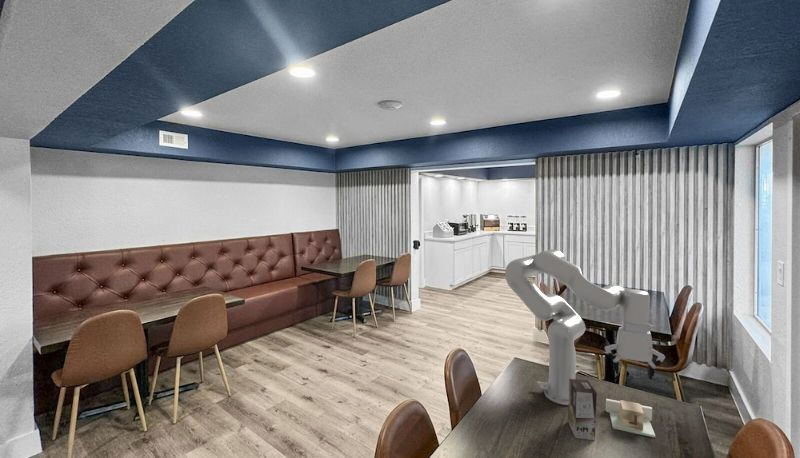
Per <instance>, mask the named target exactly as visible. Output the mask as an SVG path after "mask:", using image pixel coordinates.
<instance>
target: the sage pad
mask: <svg viewBox="0 0 800 458" xmlns="http://www.w3.org/2000/svg"><path fill="white" fill-rule="evenodd" d="M609 417H610V423H611V426H612V427H611V428H612V429H614V430H619V431H624V432H627V433H632V434H637V435H642V436H646V437H650V438H656V434H655V431H654V429H653V426H652V424H651V421H649V420H648V419H643V430H640V429H635V428H630V427H626V426H622V423H621V419H620V414H618V413H613V412H610V413H609Z"/></svg>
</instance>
